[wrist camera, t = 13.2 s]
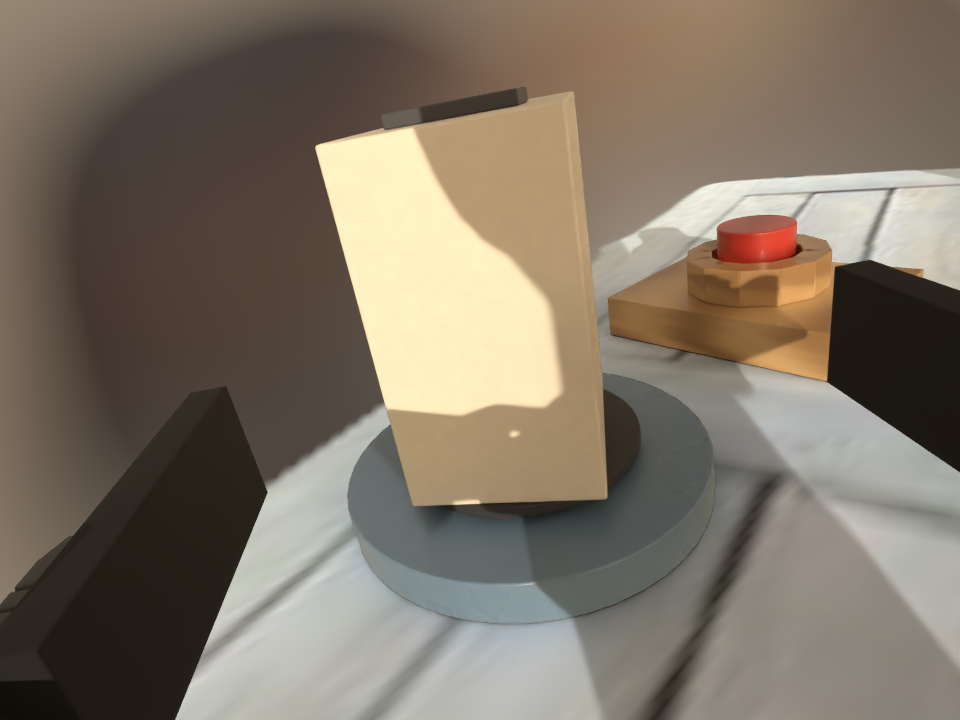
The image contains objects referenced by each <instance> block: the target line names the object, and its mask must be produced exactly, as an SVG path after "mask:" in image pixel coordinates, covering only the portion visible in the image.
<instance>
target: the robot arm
mask: <svg viewBox="0 0 960 720" xmlns="http://www.w3.org/2000/svg"><path fill="white" fill-rule="evenodd" d="M827 382H828V383H830V384H831V385H833V386H834V387H835V388H837V389H838V390H840V391H841V392H843V393H844V394H846V395H847V396H849V397H850V398H852V399H853V400H855V401H856V402H857V403H859V404H860V405H862V406H863V407H865V408H866V409H868V410H869V411H871V412H872V413H874V414H875V415H877V416H878V417H879V418H881V419H882V420H884V421H885V422H887V423H888V424H890V425H891V426H893V427H894V428H896V429H897V430H899V431H900V432H902V433H903V434H904V435H906V436H907V437H909V438H910V439H912V440H913V441H915V442H916V443H918V444H919V445H921V446H922V447H924V448H925V449H926V450H928V451H929V452H931V453H932V454H934V455H935V456H937V457H938V458H940V459H941V460H943V461H944V462H946V463H947V464H948V465H950V466H951V467H953V468H954V469H956V470H957V471H959V472H960V290H957V289H954V288H951V287H948V286H945V285H942V284H939V283H936V282H933V281H930V280H927V279H924V278H922V277H919V276H916V275H913V274H910V273H907V272H904V271H901V270H898V269H895V268H892V267H889V266H886V265H884V264H881V263H878V262H875V261H872V260H867V261H862V262H857V263H851V264H846V265H841V266H836V267H835V272H834V286H833V301H832V315H831V330H830V344H829V358H828V373H827ZM267 493H268V492H267V490H266V487H265V484H264V482H263V479H262V477H261V474H260V472H259V469H258V467H257V464H256V461H255V459H254V456H253V454H252V451H251V449H250V446H249V443H248V441H247V439H246V436H245V433H244V431H243V428H242V426H241V423H240V420H239V418H238V415H237V413H236V410H235V408H234V405H233V403H232V400H231V397H230V395H229V392H228V390H227V387H226V386H225V387H219V388H214V389H209V390H204V391H200V392H194V393H190V394H189V395H188V397H187V398H186V399H185V400H184V401H183V403H182V404H181V405H180V406H179V408H178V409H177V410H176V411H175V412H174V414H173V415H172V416H171V418H169V420H168V421H167V422H166V423H165V425H164V426H163V427H162V428H161V430H160V431H159V432H158V433H157V434H156V436H155V437H154V438H153V439H152V440H151V442H150V443H149V444H148V445H147V447H146V448H145V449H144V450H143V451H142V453H141V454H140V455H139V456H138V458H137V459H136V460H135V461H134V462H133V464H132V465H131V466H130V467H129V468H128V470H127V471H126V472H125V473H124V475H123V476H122V477H121V478H120V479H119V481H118V482H117V483H116V484H115V486H114V487H113V488H112V490H110V492H109V493H108V494H107V496H106V497H105V498H104V499H103V500H102V501H101V503H100V504H99V505H98V506H97V508H96V509H95V510H94V511H93V512H92V514H91V515H90V516H89V517H88V519H87V520H86V521H85V522H84V523H83V525H82V526H81V527H80V528H79V530H78V531H77V532H76V533H75V534H74V536H69V537H68V538H66V539H65V540H64V541H62V542H61V543H60V544H59V545H57V546H56V547H55V548H54V549H52V550H51V551H50V552H49V553H47V554H46V555H45V556H44V557H42V558H41V559H40V560H38V561H37V562H36V563H35V565H34V566H33V567H32V568H31V569H30V570H29V572H28V573H27V574H26V575H25V576H24V577H23V579H22V580H21V581H20V582H19V583H18V584H17V586H16V587H15V592H13V593H10V594H9V595H8V596H7V598H5V600H4V601H3V602H2V603H1V604H0V720H175V718H176V716H177V714H178V711H179V709H180V706H181V704H182V701H183V699H184V696H185V694H186V691H187V689H188V687H189V684H190V682H191V679H192V677H193V674H194V672H195V669H196V667H197V664H198V662H199V660H200V657H201V655H202V652H203V650H204V647H205V645H206V642H207V640H208V637H209V635H210V633H211V630H212V628H213V625H214V623H215V620H216V618H217V615H218V613H219V610H220V608H221V606H222V603H223V601H224V598H225V596H226V593H227V591H228V588H229V586H230V583H231V581H232V579H233V576H234V574H235V571H236V569H237V566H238V564H239V561H240V559H241V556H242V554H243V552H244V549H245V547H246V544H247V542H248V539H249V537H250V534H251V532H252V530H253V527H254V525H255V522H256V520H257V517H258V515H259V512H260V510H261V507H262V505H263V503H264V500H265V498H266V495H267Z"/></svg>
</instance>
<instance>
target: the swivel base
mask: <svg viewBox="0 0 960 720" xmlns="http://www.w3.org/2000/svg"><path fill="white" fill-rule="evenodd" d="M602 379H603V389H605V390H607V391H609V392H611V393H613V394H615V395H617V396H618V397H620V398H621V399H622V400H624V401H625V402H626V403H627V404H628V405H629V406H630V407H631V408H632V409H633V410H634V412H635V414H636V416H637V418H638V420H639V424H640V430H641V445H640V449H639V453H638V455H637V457H636V459H635V461H634V463H633V464H632V466H631V467H630V468H629V470H628V471H627V472H626V473H625V474H624V475H623V476H622V477H621V478H620V479H619V480H618V481H617V482H616V483H614V484H613V485H612V486H610V487H609V488H608V489H607V493H608V497H607V499H603V500H586V501H584V502H581V503H579V504H577V505H574V506H571V507H568V508H565V509H562V510H558V511H554V512H550V513H546V514H542V515H535V516H529V517H520V518H484V517H475V516H470V515H465V514H460V513H457V512H454V511H451V510H448V509H445V508H443V507H441V506H439V505H433V506H413V505H412V501H411V498H410V494H409V490H408V487H407V483H406V479H405V476H404V472H403V468H402V465H401V461H400V457H399V454H398V450H397V446H396V443H395V439H394V435H393V432H392V428H391V424H390V425H389V426H388V427H387V428H385V429H384V430H383V431H382V432H381V433H380V434H379V435H378V436H377V437H376V438H375V439H374V440H373V441H372V442H371V443H370V444H369V446H368V447H367V448H366V450H365V451H364V452H363V453H362V455H361V457H360V458H359V460H358V462H357V464H356V465H355V467H354V470H353V473H352V476H351V478H350V482H349V489H348V495H347V497H348V510H349V513H350V516H351V519H352V523H353V526H354V529H355V532H356V535H357V538H358V541H359V544H360V547H361V550H362V553H363V555H364V557H365V559H366V561H367V562H368V564H369V566H370V568H371V569H372V570H373V571H374V573H375V574H376V575H377V576H378V577H379V578H380V579H381V580H382V582H383V583H385V584H386V585H387V586H388V587H390V588H391V589H392V590H393V591H395V592H396V593H397V594H399V595H400V596H402V597H403V598H405V599H407V600H409V601H411V602H413V603H415V604H416V605H418V606H420V607H423V608H426V609H428V610H431V611H434V612H436V613H439V614H442V615H446V616H450V617H454V618H459V619H463V620H468V621H476V622H485V623H495V624H528V623H537V622H545V621H554V620H560V619H565V618H569V617H574V616H578V615H583V614H587V613H590V612H593V611H596V610H599V609H602V608H605V607H608V606H611V605H613V604H616V603H618V602H620V601H623V600H625V599H627V598H629V597H631V596H633V595H635V594H637V593H639V592H641V591H643V590H645V589H646V588H648V587H649V586H651V585H652V584H654V583H655V582H657V581H659V580H660V579H662V578H663V577H665V576H666V575H667V574H668V573H669V572H670V571H672V570H673V569H674V568H675V567H676V566H677V565H679V564H680V563H681V562H682V561H683V560H684V559H685V558H686V556H687V555H688V554H689V553H690V552H691V550H692V549H693V548H694V547H695V546H696V545H697V543H698V541H699V539H700V538H701V536H702V534H703V533H704V531H705V529H706V527H707V525H708V522H709V519H710V517H711V514H712V511H713V504H714V495H715V481H714V455H713V447H712V443H711V440H710V438H709V435H708V433H707V431H706V429H705V427H704V426H703V424H702V423H701V421H700V420H699V418H698V417H697V416H696V415H695V414H694V413H693V412H692V411H691V410H690V409H689V408H688V407H687V406H686V405H684V404H683V403H682V402H680V401H679V400H678V399H676V398H675V397H673V396H671V395H669V394H668V393H666V392H664V391H662V390H660V389H658V388H656V387H653V386H651V385H649V384H646V383H643V382H640V381H637V380H634V379H630V378H626V377H622V376H618V375H613V374H606V373H602Z"/></svg>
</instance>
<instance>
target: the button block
mask: <svg viewBox="0 0 960 720" xmlns="http://www.w3.org/2000/svg"><path fill="white" fill-rule="evenodd" d="M846 264H848V263H835V262H832V250H831V248H830V246H829V245H828V243H827V241H826V240H822V239H819V238H815V237H811V236H807V235H803V234H802V235H801V234H797V239H796V256H794V257H792V258H787V259H783V260H779V261H774V262H765V263H750V264H741V263H730V262H722V261H720V260H717V240H713V241H709V242H705V243H703V244H701V245H699V246H697V247H695V248H693V249H692V250H690V251H688V256H687V257H686V258H684V259H682V260H680V261H679V262H677V263H675V264H673V265H671V266H669V267H667V268H665V269H663V270H661V271H659V272H657V273H655V274H653V275H651V276H649V277H648V278H646V279H644V280H642V281H640V282H638V283H636V284H634V285H632V286H630V287H628V288H626V289H624V290H622V291H620V292H619V293H617V294H615V295H613V296H611V297H609V298H608V309H609V320H610V331H611V334H612V335H616V336H621V337H625V338H630V339H635V340H639V341H644V342H648V343H653V344H658V345H662V346H667V347H671V348H676V349H681V350H685V351H690V352H694V353H699V354H704V355H708V356H713V357H717V358H722V359H726V360H731V361H736V362H740V363H745V364H749V365H754V366H759V367H763V368H768V369H772V370H777V371H782V372H786V373H791V374H795V375H800V376H805V377H809V378H814V379H818V380H823V381H827V373H828V358H829V344H830V330H831V315H832V301H833V286H834V272H835V267H836V266H841V265H846ZM892 268H895V269H898V270H901V271H904V272H907V273H910V274H913V275H916V276H919V277H922V278H923V271H924V270H923V269H912V268H899V267H892Z"/></svg>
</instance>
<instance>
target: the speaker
mask: <svg viewBox="0 0 960 720" xmlns="http://www.w3.org/2000/svg"><path fill="white" fill-rule="evenodd" d="M381 119H382V123H383V128H382V129H378V130H374V131H370V132H366V133H363V134H358V135H354V136H350V137H346V138H342V139H338V140H335V141H331V142H327V143H323V144H319V145H317V146H316V152H317V155H318V159H319V163H320V167H321V171H322V174H323V178H324V181H325V185H326V189H327V193H328V196H329V200H330V204H331V207H332V211H333V215H334V218H335V222H336V226H337V229H338V233H339V237H340V240H341V244H342V248H343V251H344V255H345V259H346V262H347V266H348V270H349V274H350V277H351V281H352V285H353V288H354V292H355V296H356V299H357V303H358V307H359V310H360V314H361V317H362V321H363V325H364V328H365V332H366V336H367V340H368V343H369V347H370V351H371V354H372V358H373V362H374V365H375V369H376V372H377V376H378V380H379V384H380V387H381V391H382V395H383V398H384V402H385V406H386V410H387V413H388V417H389V421H390V424H391V428H392V432H393V435H394V439H395V443H396V446H397V450H398V454H399V457H400V461H401V465H402V468H403V472H404V476H405V479H406V483H407V487H408V490H409V494H410V498H411V501H412V505H413V506H433V505H439V506H441V507H443V508H445V509H448V510H451V511H454V512H457V513H460V514H465V515H470V516H475V517H484V518H520V517H529V516H535V515H542V514H546V513H550V512H554V511H558V510H562V509H565V508H568V507H571V506H574V505H577V504H579V503H581V502H584V501H586V500H603V499H607V497H608V493H607V489H608V488H609V487H610V486H612V485H613V484H614V483H616V482H617V481H618V480H619V479H620V478H621V477H622V476H623V475H624V474H625V473H626V472H627V471H628V470H629V468H630V467H631V466H632V464H633V463H634V461H635V459H636V457H637V455H638V453H639V449H640V445H641V430H640V424H639V420H638V418H637V416H636V414H635V412H634V410H633V409H632V408H631V407H630V406H629V405H628V404H627V403H626V402H625V401H624V400H622V399H621V398H620V397H618V396H617V395H615V394H613V393H611V392H609V391H607V390H605V389H603V379H602V367H601V357H600V347H599V337H598V327H597V317H596V308H595V298H594V288H593V278H592V268H591V258H590V248H589V239H588V229H587V219H586V209H585V199H584V189H583V179H582V170H581V159H580V149H579V139H578V130H577V120H576V110H575V100H574V93H573V92H572V91H570V92H565V93H560V94H555V95H549V96H544V97H538V98H533V99H527V91H526V88H525V87H520V88H515V89H509V90H504V91H499V92H494V93H489V94H484V95H478V96H473V97H468V98H463V99H457V100H452V101H447V102H443V103H437V104H431V105H427V106H422V107H416V108H411V109H405V110H400V111H395V112H390V113H385V114H381Z"/></svg>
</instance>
